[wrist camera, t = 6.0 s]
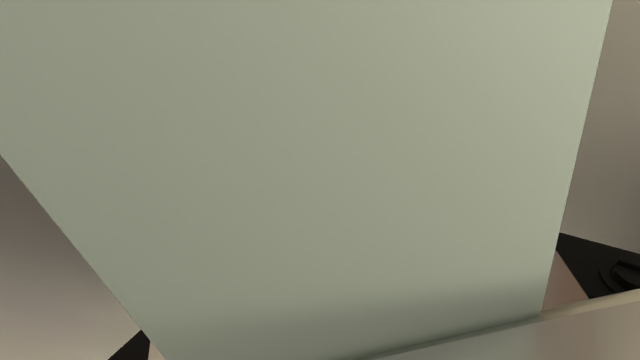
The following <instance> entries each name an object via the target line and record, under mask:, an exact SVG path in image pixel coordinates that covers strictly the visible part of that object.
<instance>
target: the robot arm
mask: <svg viewBox="0 0 640 360" xmlns="http://www.w3.org/2000/svg"><path fill="white" fill-rule="evenodd" d="M108 360H165V358H164V357H163V356H162V355H161V353H160V352H159V351H158V350H157V348H156V347H155V346H154V345H153V343H152V342H151V341H150V340H149V338H148V337H147V336H146V335H145V334H144V332H143V331H142V330H140V331H139V332H138V333H137V334H136V335H135V336H134V337H133V338H131V339H130V340H129V341H128V342H127V343H126V344H125V345H124V346H123V347H121V348H120V349H119V350H118V351H117V352H116V353H115V354H114V355H113V356H111V357H110V358H109V359H108ZM353 360H640V254H637V253H633V252H630V251H626V250H622V249H619V248H615V247H611V246H607V245H604V244H600V243H596V242H593V241H589V240H585V239H581V238H578V237H574V236H570V235H567V234H563V233H559V235H558V240H557V244H556V248H555V253H554V257H553V261H552V265H551V270H550V274H549V278H548V283H547V287H546V291H545V296H544V300H543V304H542V309H541V313H540V316H536V317H532V318H528V319H523V320H519V321H515V322H510V323H506V324H502V325H497V326H493V327H489V328H485V329H480V330H476V331H472V332H468V333H463V334H459V335H455V336H451V337H446V338H442V339H438V340H434V341H429V342H425V343H421V344H417V345H412V346H408V347H404V348H400V349H395V350H391V351H387V352H383V353H378V354H374V355H370V356H366V357H361V358H357V359H353Z"/></svg>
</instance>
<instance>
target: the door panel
mask: <svg viewBox="0 0 640 360" xmlns="http://www.w3.org/2000/svg"><path fill="white" fill-rule="evenodd" d="M612 2H613V0H0V155H1V156H2V157H3V159H4V160H5V161H6V162H7V164H8V165H9V166H10V167H11V169H12V170H13V171H14V172H15V174H16V175H17V176H18V177H19V179H20V180H21V181H22V182H23V183H24V185H25V186H26V187H27V188H28V190H29V191H30V192H31V193H32V195H33V196H34V197H35V198H36V200H37V201H38V202H39V203H40V205H41V206H42V207H43V208H44V210H45V211H46V212H47V213H48V214H49V216H50V217H51V218H52V219H53V221H54V222H55V223H56V224H57V226H58V227H59V228H60V229H61V231H62V232H63V233H64V234H65V236H66V237H67V238H68V239H69V241H70V242H71V243H72V244H73V245H74V247H75V248H76V249H77V250H78V252H79V253H80V254H81V255H82V257H83V258H84V259H85V260H86V262H87V263H88V264H89V265H90V267H91V268H92V269H93V270H94V272H95V273H96V274H97V275H98V276H99V278H100V279H101V280H102V281H103V283H104V284H105V285H106V286H107V288H108V289H109V290H110V291H111V293H112V294H113V295H114V296H115V298H116V299H117V300H118V301H119V303H120V304H121V305H122V306H123V307H124V309H125V310H126V311H127V312H128V314H129V315H130V316H131V317H132V319H133V320H134V321H135V322H136V324H137V325H138V326H139V327H140V329H141V330H142V331H143V332H144V334H145V335H146V336H147V337H148V338H149V340H150V341H151V342H152V343H153V345H154V346H155V347H156V348H157V350H158V351H159V352H160V353H161V355H162V356H163V357H164V358H165V360H353V359H357V358H361V357H366V356H370V355H374V354H378V353H383V352H387V351H391V350H395V349H400V348H404V347H408V346H412V345H417V344H421V343H425V342H429V341H434V340H438V339H442V338H446V337H451V336H455V335H459V334H463V333H468V332H472V331H476V330H480V329H485V328H489V327H493V326H497V325H502V324H506V323H510V322H515V321H519V320H523V319H528V318H532V317H536V316H540V313H541V309H542V304H543V300H544V296H545V291H546V287H547V283H548V278H549V274H550V270H551V265H552V261H553V257H554V253H555V248H556V244H557V240H558V235H559V231H560V227H561V222H562V218H563V214H564V209H565V205H566V201H567V196H568V192H569V188H570V184H571V179H572V175H573V171H574V166H575V162H576V158H577V153H578V149H579V145H580V140H581V136H582V132H583V127H584V123H585V119H586V115H587V110H588V106H589V102H590V97H591V93H592V89H593V84H594V80H595V76H596V71H597V67H598V63H599V58H600V54H601V50H602V46H603V41H604V37H605V33H606V28H607V24H608V20H609V15H610V11H611V7H612Z"/></svg>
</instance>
